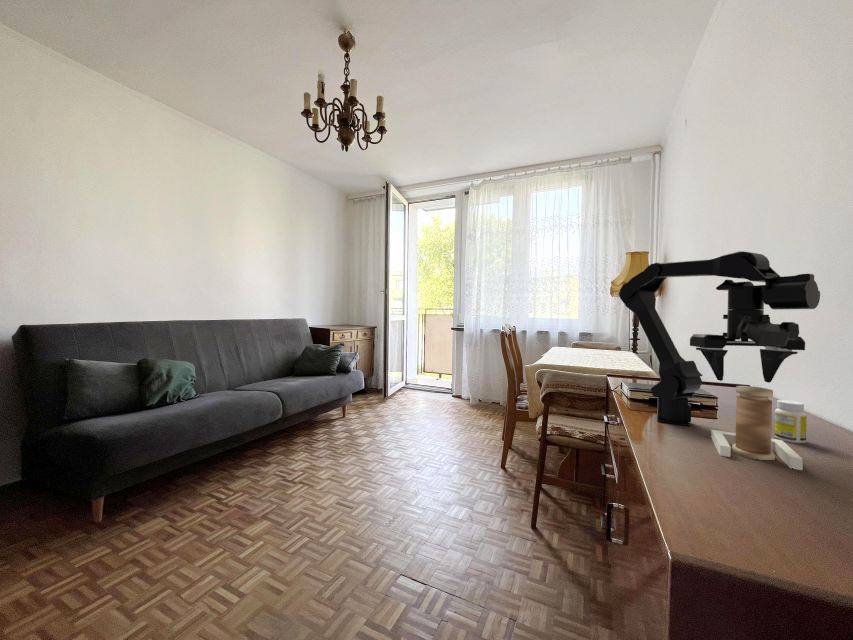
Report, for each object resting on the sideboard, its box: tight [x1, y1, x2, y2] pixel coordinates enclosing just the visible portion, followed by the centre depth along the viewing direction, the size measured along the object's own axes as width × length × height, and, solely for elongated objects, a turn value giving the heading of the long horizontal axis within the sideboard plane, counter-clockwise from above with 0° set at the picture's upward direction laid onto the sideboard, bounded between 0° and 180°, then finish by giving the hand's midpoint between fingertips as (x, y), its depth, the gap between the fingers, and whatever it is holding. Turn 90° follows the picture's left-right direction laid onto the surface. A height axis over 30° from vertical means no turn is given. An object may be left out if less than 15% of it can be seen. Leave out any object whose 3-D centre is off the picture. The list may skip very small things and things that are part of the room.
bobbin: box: [731, 385, 776, 461], centre depth 66 cm, size 6×6×13 cm
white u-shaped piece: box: [710, 429, 804, 471], centre depth 66 cm, size 11×11×2 cm
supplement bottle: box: [774, 399, 808, 444], centre depth 74 cm, size 5×5×8 cm
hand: (743, 381), depth 73 cm, fingers open, 9 cm apart
